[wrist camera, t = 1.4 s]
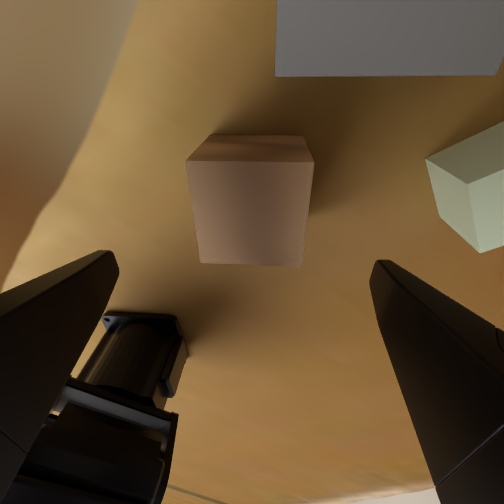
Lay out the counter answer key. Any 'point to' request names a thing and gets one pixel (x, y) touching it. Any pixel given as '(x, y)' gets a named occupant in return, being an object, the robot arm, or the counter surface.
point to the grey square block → (389, 38)
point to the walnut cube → (251, 198)
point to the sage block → (472, 187)
